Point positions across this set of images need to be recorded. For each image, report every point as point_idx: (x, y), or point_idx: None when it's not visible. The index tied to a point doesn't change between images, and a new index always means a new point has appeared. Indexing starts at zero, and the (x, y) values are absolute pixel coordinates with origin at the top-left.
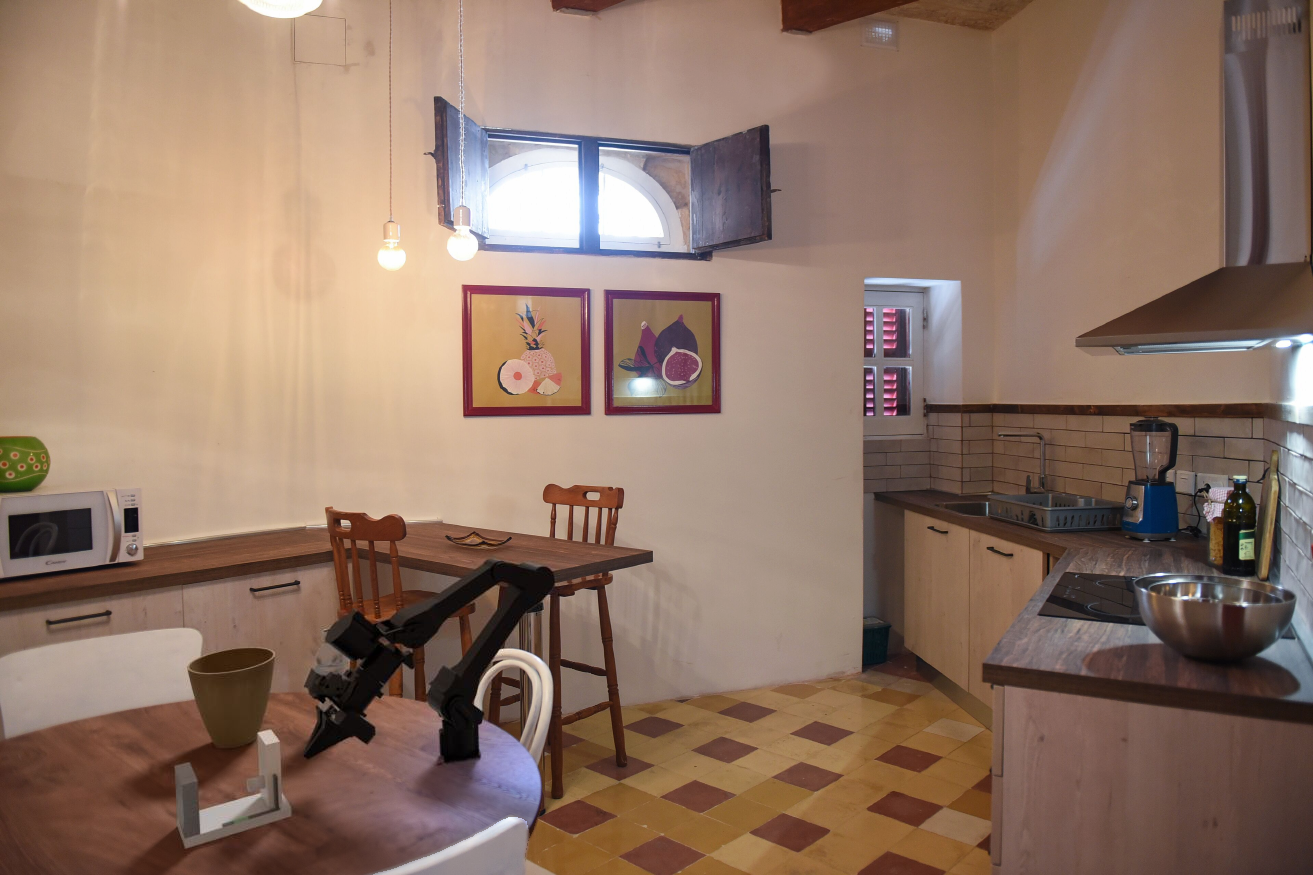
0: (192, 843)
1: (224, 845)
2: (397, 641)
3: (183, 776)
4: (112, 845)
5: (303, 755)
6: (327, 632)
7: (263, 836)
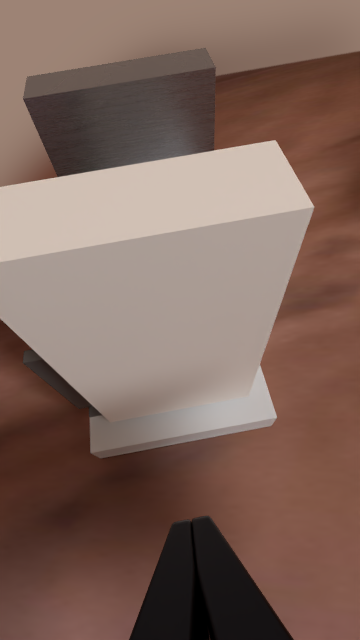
0: None
1: None
2: None
3: (96, 72)
4: None
5: (174, 522)
6: None
7: (29, 376)
